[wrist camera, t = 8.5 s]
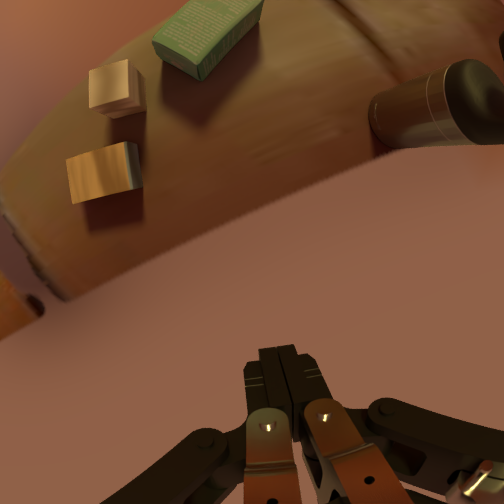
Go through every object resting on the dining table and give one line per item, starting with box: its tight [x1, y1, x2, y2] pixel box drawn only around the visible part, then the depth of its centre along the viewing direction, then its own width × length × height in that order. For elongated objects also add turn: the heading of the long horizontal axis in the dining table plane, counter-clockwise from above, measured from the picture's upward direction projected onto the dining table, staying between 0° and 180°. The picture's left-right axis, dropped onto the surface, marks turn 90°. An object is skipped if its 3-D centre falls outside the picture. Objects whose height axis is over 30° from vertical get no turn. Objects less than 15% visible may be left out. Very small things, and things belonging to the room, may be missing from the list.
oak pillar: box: [66, 141, 143, 204], centre depth 33 cm, size 4×6×9 cm
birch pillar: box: [89, 59, 147, 119], centre depth 29 cm, size 5×5×8 cm
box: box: [152, 0, 264, 81], centre depth 28 cm, size 7×14×8 cm, turn 144°
